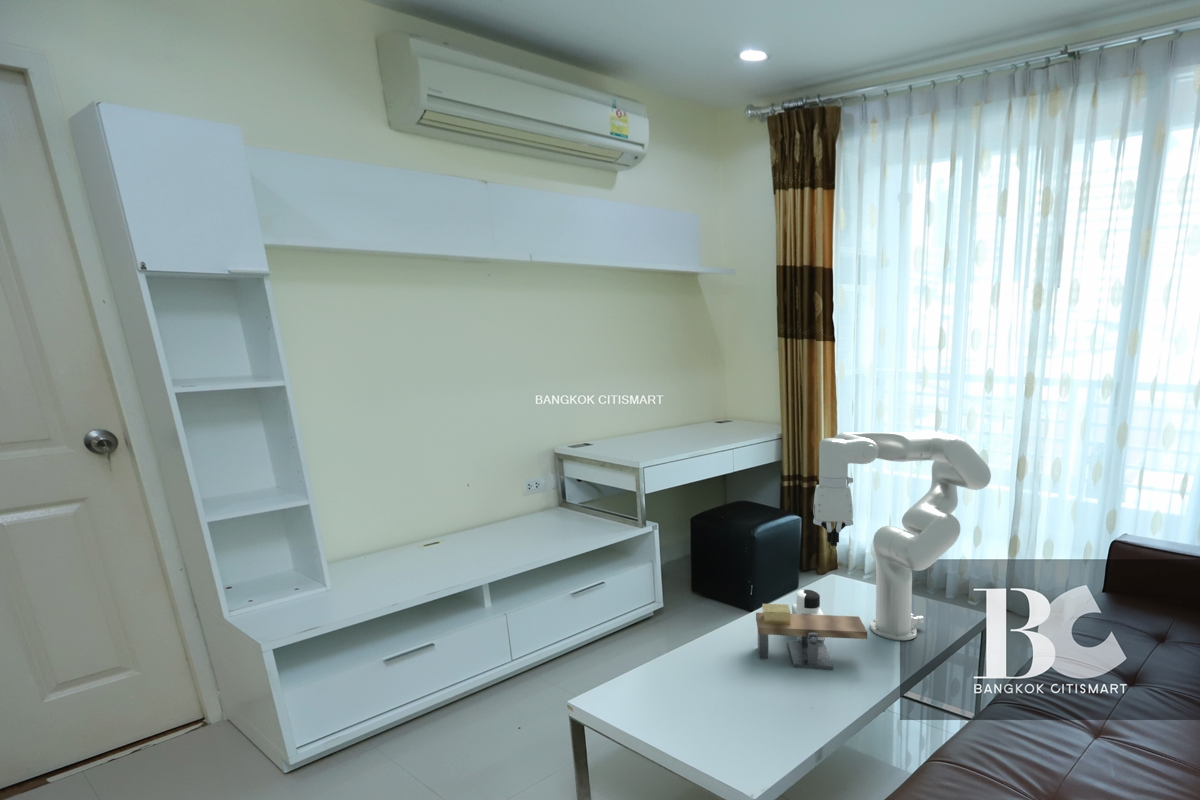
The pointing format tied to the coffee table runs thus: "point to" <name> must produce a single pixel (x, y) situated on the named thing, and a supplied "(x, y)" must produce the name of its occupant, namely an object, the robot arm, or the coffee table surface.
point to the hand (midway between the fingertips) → (832, 544)
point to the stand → (801, 651)
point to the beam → (816, 626)
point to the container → (807, 605)
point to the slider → (776, 614)
